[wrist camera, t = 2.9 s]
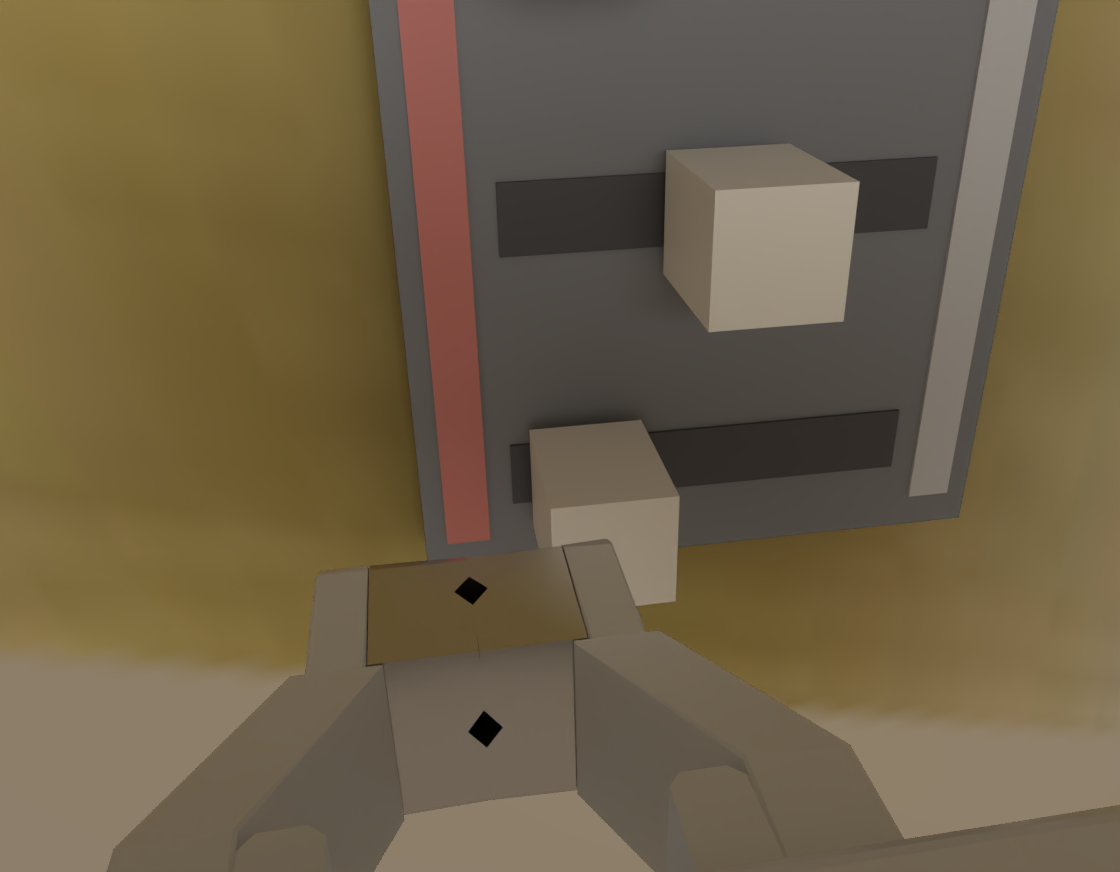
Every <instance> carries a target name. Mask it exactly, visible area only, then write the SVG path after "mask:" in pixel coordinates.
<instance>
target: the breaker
mask: <svg viewBox="0 0 1120 872" xmlns="http://www.w3.org/2000/svg"><path fill="white" fill-rule="evenodd" d="M529 433H530V456H531V479H532V502H533V525H534V530H535V535H536V539H537V543H538V547H539V549H541V548H549V547H556V546H561V545H565V544H572V543H579V542H586V541H593V540H599V539H608V540H609V541H610V542H612V544H613V547H614V550H615V552H616V555H617V557H618V560H619V563H620V565H621V568H622V571H623V573H624V576H625V578H626V581H627V584H628V586H629V589H630V591H631V594H632V597H633V599H634V602H635V605H636V606H640V605H648V604H657V603H666V602H675V601H676V579H677V552H678V525H679V499H680V496H679V494H678V492H677V490H676V488H675V486H674V484H673V482H672V480H671V478H670V476H669V474H668V472H667V470H666V468H665V466H664V464H663V462H662V460H661V458H660V456H659V454H658V452H657V450H656V448H655V446H654V444H653V442H652V440H651V438H650V436H649V434H648V432H647V430H646V428H645V426H644V424H643V422H642V420H633V421H622V422H611V423H600V424H589V425H578V426H567V427H556V428H545V429H534V430H529Z"/></svg>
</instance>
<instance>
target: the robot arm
mask: <svg viewBox="0 0 1120 872" xmlns="http://www.w3.org/2000/svg"><path fill="white" fill-rule="evenodd" d="M572 790H578V795H579V796H580V797H581V798H582V799H583V800H584V801H585V802H586V803H587V804H588V805H589V806H590V807H591V808H592V809H593V810H594V811H595V812H596V813H597V814H598V815H599V816H600V817H601V818H602V819H603V820H604V821H605V822H606V823H607V824H608V825H609V826H610V827H611V828H612V829H613V830H614V831H615V832H616V833H617V834H618V835H619V836H620V837H621V838H622V839H623V840H624V841H625V842H626V843H627V844H628V845H629V846H630V847H631V848H632V849H633V850H634V851H635V852H636V853H637V854H638V855H639V856H640V858H641V859H643V861H644V862H646V863H647V865H648V866H649V867H651V869H652V870H654V872H1120V805H1116V806H1110V807H1104V808H1097V809H1091V810H1085V811H1079V812H1073V813H1067V814H1060V815H1055V816H1048V817H1042V818H1036V819H1030V820H1024V821H1018V822H1011V823H1005V824H999V825H993V826H987V827H980V828H974V829H967V830H960V831H954V832H948V833H941V834H935V835H929V836H922V837H915V838H909V839H904V838H903V836H902V834H901V832H900V831H899V829H898V827H897V825H896V824H895V822H894V820H893V818H892V817H891V815H890V813H889V812H888V810H887V808H886V806H885V805H884V803H883V801H882V799H881V798H880V796H879V794H878V792H877V791H876V789H875V787H874V786H873V784H872V782H871V780H870V778H869V777H868V775H867V773H866V771H865V770H864V768H863V766H862V764H861V763H860V761H859V759H858V758H857V756H856V754H855V753H854V751H853V749H852V747H851V745H850V744H848V743H846V742H845V741H843V740H841V739H839V738H838V737H836V736H835V735H833V734H831V733H830V732H828V731H826V730H825V729H823V728H821V727H820V726H818V725H816V724H815V723H813V722H811V721H810V720H808V719H806V718H805V717H803V716H801V715H800V714H798V713H796V712H795V711H793V710H791V709H790V708H788V707H786V706H785V705H783V704H781V703H780V702H778V701H776V700H775V699H773V698H771V697H770V696H768V695H766V694H765V693H763V692H761V691H760V690H758V689H756V688H755V687H753V686H751V685H750V684H748V683H746V682H745V681H743V680H741V679H740V678H738V677H736V676H735V675H733V674H731V673H730V672H728V671H726V670H725V669H723V668H721V667H720V666H718V665H716V664H715V663H713V662H711V661H710V660H708V659H706V658H705V657H703V656H701V655H700V654H698V653H696V652H695V651H693V650H691V649H690V648H688V647H686V646H685V645H683V644H681V643H680V642H678V641H676V640H675V639H673V638H671V637H670V636H668V635H666V634H665V633H663V632H661V631H651V632H646V631H645V628H644V625H643V623H642V620H641V618H640V615H639V612H638V610H637V607H636V605H635V602H634V599H633V597H632V594H631V591H630V589H629V586H628V584H627V581H626V578H625V576H624V573H623V571H622V568H621V565H620V563H619V560H618V557H617V555H616V552H615V550H614V547H613V544H612V542H610V541H609V540H608V539H599V540H593V541H586V542H579V543H572V544H565V545H561V546H556V547H549V548H541V549H533V550H526V551H518V552H510V553H503V554H495V555H487V556H480V557H472V558H467V557H460V558H449V559H438V560H427V561H416V562H405V563H394V564H383V565H372V566H370V568H368V567H367V566H360V567H351V568H343V569H334V570H326V571H320V572H319V573H318V575H317V577H316V578H315V585H314V594H313V604H312V613H311V622H310V632H309V641H308V650H307V659H306V669H305V675H297V676H291V677H289V678H288V679H287V680H286V681H285V682H284V683H283V684H282V685H281V686H280V687H279V688H278V689H277V690H276V691H275V692H274V693H273V694H272V695H271V696H270V697H269V698H268V699H266V700H265V701H264V703H262V705H260V706H259V707H258V708H257V709H256V710H255V711H254V712H253V713H252V714H251V715H250V716H249V717H248V718H247V719H246V720H245V721H244V722H243V723H242V724H241V725H240V726H239V727H238V728H237V729H236V730H235V731H234V732H233V733H232V734H231V735H230V736H229V737H228V738H227V739H226V740H225V741H223V743H221V744H220V745H219V746H218V747H217V748H216V749H215V750H214V751H213V752H212V753H211V754H210V755H209V756H208V757H207V758H206V759H205V760H204V761H203V762H202V763H201V764H200V765H199V766H198V767H197V768H196V769H195V770H194V771H193V772H192V773H191V774H190V775H189V776H188V777H187V778H186V779H185V780H184V781H183V782H182V783H180V784H179V786H177V787H176V788H175V789H174V790H173V791H172V792H171V793H170V794H169V795H168V796H167V797H166V798H165V799H164V800H163V801H162V802H161V803H160V804H159V805H158V806H157V807H156V808H155V809H154V810H153V811H152V812H151V813H150V814H149V815H148V816H147V817H146V818H145V819H144V820H143V821H142V822H141V823H140V824H139V825H137V826H136V827H135V828H134V829H133V830H132V831H131V832H130V833H129V834H128V835H127V836H126V837H125V838H124V839H123V840H122V841H121V842H120V843H119V844H118V845H117V846H116V847H115V848H114V849H113V853H112V856H111V859H110V862H109V866H108V869H107V872H374V870H375V869H376V867H377V865H378V864H379V862H380V860H381V859H382V857H383V855H384V853H385V852H386V850H387V848H388V847H389V845H390V843H391V842H392V840H393V838H394V837H395V835H396V833H397V831H398V830H399V828H400V826H401V825H402V823H403V821H404V815H406V814H412V813H418V812H423V811H429V810H435V809H441V808H446V807H452V806H459V805H464V804H470V803H476V802H481V801H488V800H495V799H504V798H512V797H521V796H530V795H538V794H547V793H554V792H564V791H572Z"/></svg>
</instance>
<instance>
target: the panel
mask: <svg viewBox="0 0 1120 872" xmlns="http://www.w3.org/2000/svg"><path fill="white" fill-rule="evenodd" d="M1058 2H1059V0H369V9H370V19H371V28H372V38H373V47H374V57H375V66H376V76H377V85H378V95H379V104H380V114H381V123H382V133H383V142H384V152H385V161H386V171H387V180H388V190H389V199H390V209H391V218H392V228H393V237H394V247H395V256H396V266H397V275H398V285H399V295H400V304H401V314H402V323H403V333H404V342H405V352H406V361H407V371H408V380H409V390H410V399H411V409H412V418H413V428H414V437H415V447H416V456H417V466H418V475H419V485H420V494H421V504H422V513H423V523H424V532H425V542H426V551H427V560H438V559H449V558H460V557H467V558H472V557H480V556H487V555H495V554H503V553H510V552H518V551H526V550H533V549H539V547H538V543H537V539H536V535H535V530H534V525H533V502H532V479H531V456H530V433H529V430H534V429H545V428H556V427H567V426H578V425H589V424H600V423H611V422H622V421H633V420H642V422H643V424H644V426H645V428H646V430H647V432H648V434H649V436H650V438H651V440H652V442H653V444H654V446H655V448H656V450H657V452H658V454H659V456H660V458H661V460H662V462H663V464H664V466H665V468H666V470H667V472H668V474H669V476H670V478H671V480H672V482H673V484H674V486H675V488H676V490H677V492H678V494H679V496H680V499H679V525H678V547H687V546H696V545H705V544H715V543H724V542H733V541H743V540H752V539H762V538H771V537H780V536H790V535H799V534H808V533H818V532H827V531H837V530H846V529H855V528H865V527H874V526H883V525H893V524H902V523H912V522H921V521H930V520H940V519H949V518H958V517H959V513H960V508H961V503H962V498H963V493H964V487H965V482H966V477H967V472H968V467H969V462H970V456H971V451H972V446H973V441H974V436H975V431H976V425H977V420H978V415H979V410H980V405H981V400H982V394H983V389H984V384H985V379H986V374H987V369H988V363H989V358H990V353H991V348H992V343H993V338H994V332H995V327H996V322H997V317H998V312H999V307H1000V301H1001V296H1002V291H1003V286H1004V281H1005V276H1006V270H1007V265H1008V260H1009V255H1010V250H1011V245H1012V239H1013V234H1014V229H1015V224H1016V219H1017V214H1018V208H1019V203H1020V198H1021V193H1022V188H1023V183H1024V177H1025V172H1026V167H1027V162H1028V157H1029V152H1030V146H1031V141H1032V136H1033V131H1034V126H1035V121H1036V115H1037V110H1038V105H1039V100H1040V95H1041V90H1042V84H1043V79H1044V74H1045V69H1046V64H1047V59H1048V53H1049V48H1050V43H1051V38H1052V33H1053V27H1054V22H1055V17H1056V12H1057V7H1058ZM788 143H790V144H792V145H793V146H795V147H797V148H799V149H801V150H803V151H804V152H806V153H808V154H810V155H812V156H814V157H815V158H817V159H819V160H821V161H823V162H825V163H826V164H828V165H830V166H832V167H834V168H836V169H837V170H839V171H841V172H843V173H845V174H847V175H849V176H850V177H852V178H854V179H856V180H858V181H860V184H859V193H858V201H857V210H856V218H855V227H854V235H853V244H852V253H851V261H850V270H849V278H848V287H847V295H846V304H845V313H844V321H843V322H831V323H818V324H805V325H793V326H780V327H768V328H755V329H743V330H730V331H718V332H708V331H707V330H706V328H705V327H704V326H703V324H702V323H701V322H700V321H699V319H698V318H697V317H696V315H695V314H694V313H693V312H692V310H691V309H690V308H689V306H688V305H687V304H686V303H685V301H684V300H683V299H682V297H681V296H680V295H679V294H678V292H677V291H676V290H675V288H674V287H673V286H672V285H671V283H670V282H669V281H668V279H667V278H666V277H665V276H664V274H663V260H664V221H665V181H666V150H682V149H699V148H717V147H735V146H752V145H770V144H788Z"/></svg>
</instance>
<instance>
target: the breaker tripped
mask: <svg viewBox="0 0 1120 872" xmlns="http://www.w3.org/2000/svg"><path fill="white" fill-rule="evenodd" d="M859 184H860V181H858V180H856V179H854V178H852V177H850V176H849V175H847V174H845V173H843V172H841V171H839V170H837V169H836V168H834V167H832V166H830V165H828V164H826V163H825V162H823V161H821V160H819V159H817V158H815V157H814V156H812V155H810V154H808V153H806V152H804V151H803V150H801V149H799V148H797V147H795V146H793V145H792V144H790V143H788V144H770V145H752V146H735V147H717V148H699V149H682V150H666V181H665V221H664V260H663V274H664V276H665V277H666V278H667V279H668V281H669V282H670V283H671V285H672V286H673V287H674V288H675V290H676V291H677V292H678V294H679V295H680V296H681V297H682V299H683V300H684V301H685V303H686V304H687V305H688V306H689V308H690V309H691V310H692V312H693V313H694V314H695V315H696V317H697V318H698V319H699V321H700V322H701V323H702V324H703V326H704V327H705V328H706V330H707V331H708V332H718V331H730V330H743V329H755V328H768V327H780V326H793V325H805V324H818V323H831V322H843V321H844V313H845V304H846V295H847V287H848V278H849V270H850V261H851V253H852V244H853V235H854V227H855V218H856V210H857V201H858V193H859Z"/></svg>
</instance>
